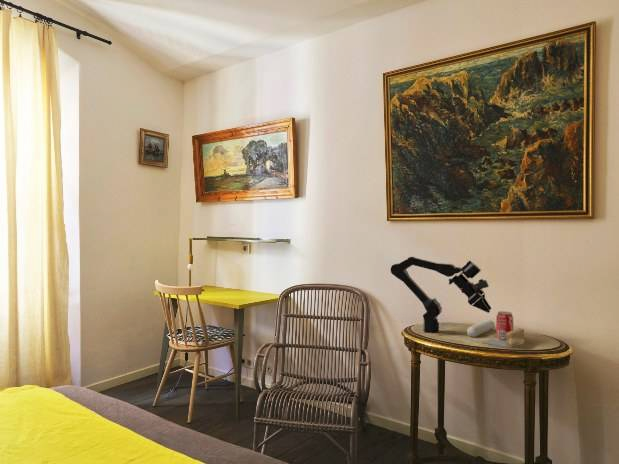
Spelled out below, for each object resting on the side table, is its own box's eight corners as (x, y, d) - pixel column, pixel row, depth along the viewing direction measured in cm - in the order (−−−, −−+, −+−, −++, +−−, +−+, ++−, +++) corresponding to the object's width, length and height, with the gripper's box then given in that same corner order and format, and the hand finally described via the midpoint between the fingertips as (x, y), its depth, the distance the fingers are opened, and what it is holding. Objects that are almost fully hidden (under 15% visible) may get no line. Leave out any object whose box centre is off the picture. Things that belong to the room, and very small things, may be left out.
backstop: (506, 347, 182) (506, 333, 182) (519, 342, 192) (519, 328, 192) (511, 348, 181) (511, 333, 181) (524, 342, 190) (524, 329, 190)
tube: (478, 330, 198) (496, 322, 217) (467, 324, 202) (485, 317, 221) (474, 340, 199) (492, 331, 218) (463, 335, 203) (482, 326, 222)
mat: (482, 343, 189) (482, 342, 189) (492, 339, 196) (492, 338, 196) (505, 347, 182) (505, 346, 182) (515, 343, 189) (515, 342, 189)
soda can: (511, 337, 200) (511, 311, 200) (515, 341, 193) (515, 314, 194) (494, 336, 202) (495, 310, 202) (497, 340, 195) (498, 313, 195)
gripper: (475, 275, 195) (502, 301, 190) (479, 272, 212) (504, 296, 206) (457, 291, 198) (483, 318, 193) (462, 287, 215) (486, 312, 210)
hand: (490, 310), depth 201 cm, fingers open, 9 cm apart
